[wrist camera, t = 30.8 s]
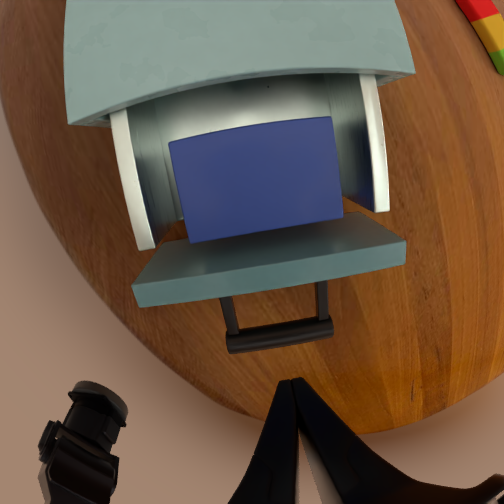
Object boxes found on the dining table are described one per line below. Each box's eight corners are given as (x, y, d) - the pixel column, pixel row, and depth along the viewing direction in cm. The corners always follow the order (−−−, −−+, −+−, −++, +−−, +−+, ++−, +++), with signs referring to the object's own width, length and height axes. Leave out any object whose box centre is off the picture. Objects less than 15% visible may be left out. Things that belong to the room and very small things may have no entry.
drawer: (359, 294, 19) (395, 343, 14) (186, 322, 19) (170, 381, 14) (327, 14, 12) (360, -30, 7) (128, 44, 12) (85, 9, 7)
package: (322, 203, 15) (344, 218, 12) (200, 223, 16) (189, 244, 12) (311, 122, 14) (332, 115, 10) (183, 143, 14) (166, 142, 11)
